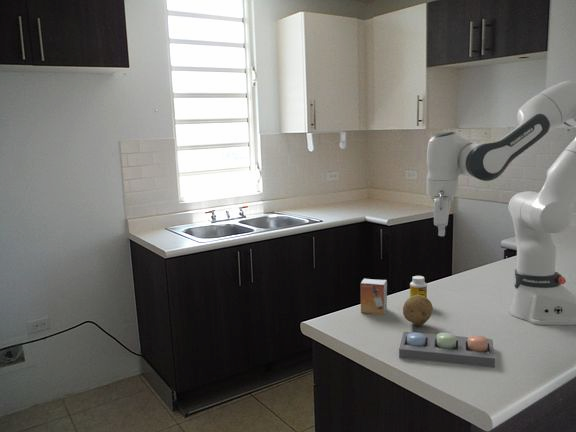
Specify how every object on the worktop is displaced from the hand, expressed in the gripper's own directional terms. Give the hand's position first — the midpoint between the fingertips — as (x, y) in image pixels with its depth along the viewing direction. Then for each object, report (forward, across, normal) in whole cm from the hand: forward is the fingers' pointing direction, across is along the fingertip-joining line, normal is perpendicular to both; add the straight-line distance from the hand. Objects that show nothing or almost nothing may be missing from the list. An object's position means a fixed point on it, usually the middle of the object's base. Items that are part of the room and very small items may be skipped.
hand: (441, 235), depth 149 cm
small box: (+29, +10, +22) cm, 38 cm away
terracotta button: (+27, -17, -10) cm, 34 cm away
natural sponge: (+29, 0, +7) cm, 30 cm away
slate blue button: (+28, -17, +6) cm, 33 cm away
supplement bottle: (+29, +18, +8) cm, 35 cm away
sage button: (+27, -17, -2) cm, 32 cm away
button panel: (+29, -17, -2) cm, 34 cm away
